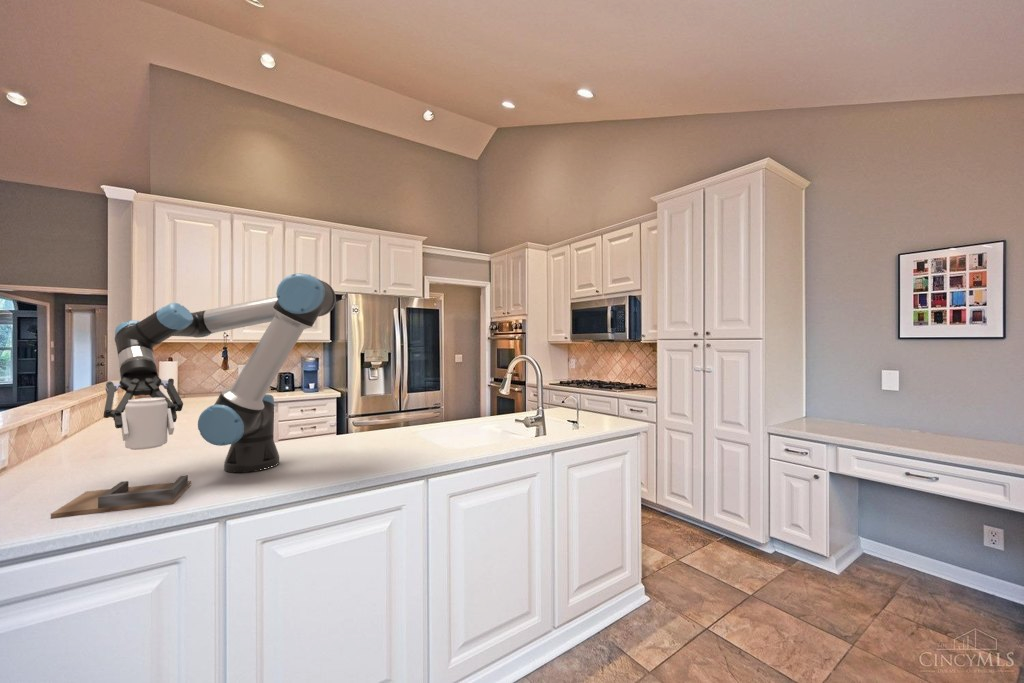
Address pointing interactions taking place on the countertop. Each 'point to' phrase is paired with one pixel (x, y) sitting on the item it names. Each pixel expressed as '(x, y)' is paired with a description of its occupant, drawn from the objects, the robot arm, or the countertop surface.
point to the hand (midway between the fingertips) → (149, 434)
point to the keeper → (124, 498)
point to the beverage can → (146, 423)
